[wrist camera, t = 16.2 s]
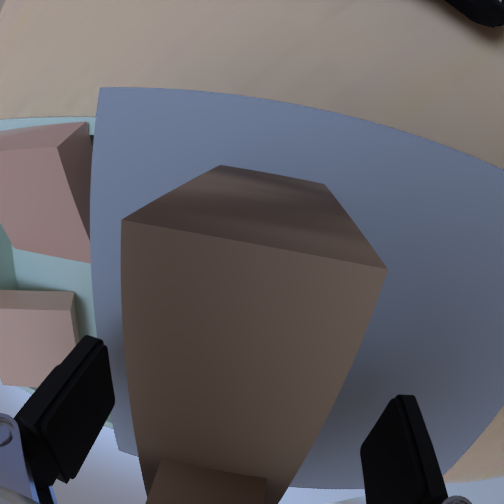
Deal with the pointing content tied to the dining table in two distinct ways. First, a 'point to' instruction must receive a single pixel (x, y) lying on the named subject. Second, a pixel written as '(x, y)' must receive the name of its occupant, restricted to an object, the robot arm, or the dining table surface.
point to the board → (372, 227)
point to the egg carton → (481, 11)
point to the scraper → (239, 330)
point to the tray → (49, 257)
